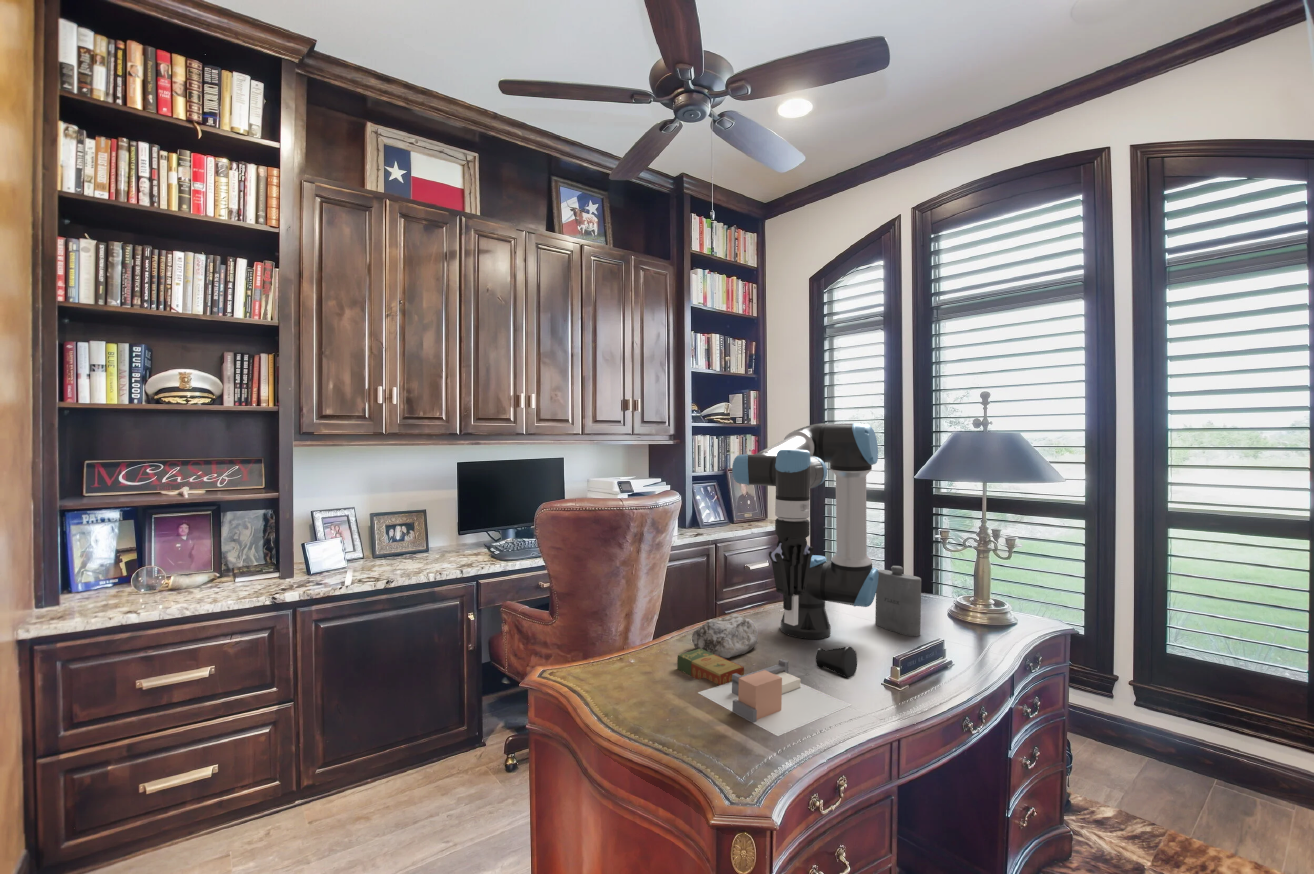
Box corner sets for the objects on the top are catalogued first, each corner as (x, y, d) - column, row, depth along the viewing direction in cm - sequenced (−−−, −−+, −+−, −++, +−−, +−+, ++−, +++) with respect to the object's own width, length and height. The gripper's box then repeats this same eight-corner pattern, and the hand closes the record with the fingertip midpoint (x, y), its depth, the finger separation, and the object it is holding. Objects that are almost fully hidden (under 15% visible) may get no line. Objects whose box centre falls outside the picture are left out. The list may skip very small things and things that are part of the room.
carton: (719, 692, 139) (719, 673, 139) (676, 670, 152) (676, 653, 152) (744, 683, 144) (744, 665, 144) (700, 662, 157) (700, 646, 157)
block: (738, 711, 126) (738, 678, 126) (763, 701, 131) (764, 669, 131) (755, 720, 122) (755, 686, 122) (781, 710, 127) (782, 677, 127)
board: (697, 697, 135) (697, 674, 135) (769, 674, 149) (769, 652, 149) (777, 742, 115) (778, 714, 115) (851, 710, 130) (852, 685, 130)
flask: (870, 624, 192) (871, 563, 192) (881, 621, 195) (882, 561, 195) (912, 638, 179) (913, 572, 179) (923, 634, 183) (924, 570, 183)
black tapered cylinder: (844, 680, 146) (813, 674, 152) (877, 671, 158) (848, 667, 164) (842, 647, 147) (812, 644, 153) (876, 641, 159) (847, 638, 166)
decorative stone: (734, 629, 179) (736, 600, 177) (768, 651, 169) (771, 620, 167) (686, 652, 167) (688, 621, 165) (720, 677, 157) (723, 644, 155)
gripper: (785, 523, 125) (784, 634, 125) (824, 518, 133) (823, 622, 133) (759, 518, 131) (758, 624, 131) (798, 514, 139) (797, 613, 139)
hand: (791, 623), depth 132 cm, fingers closed
